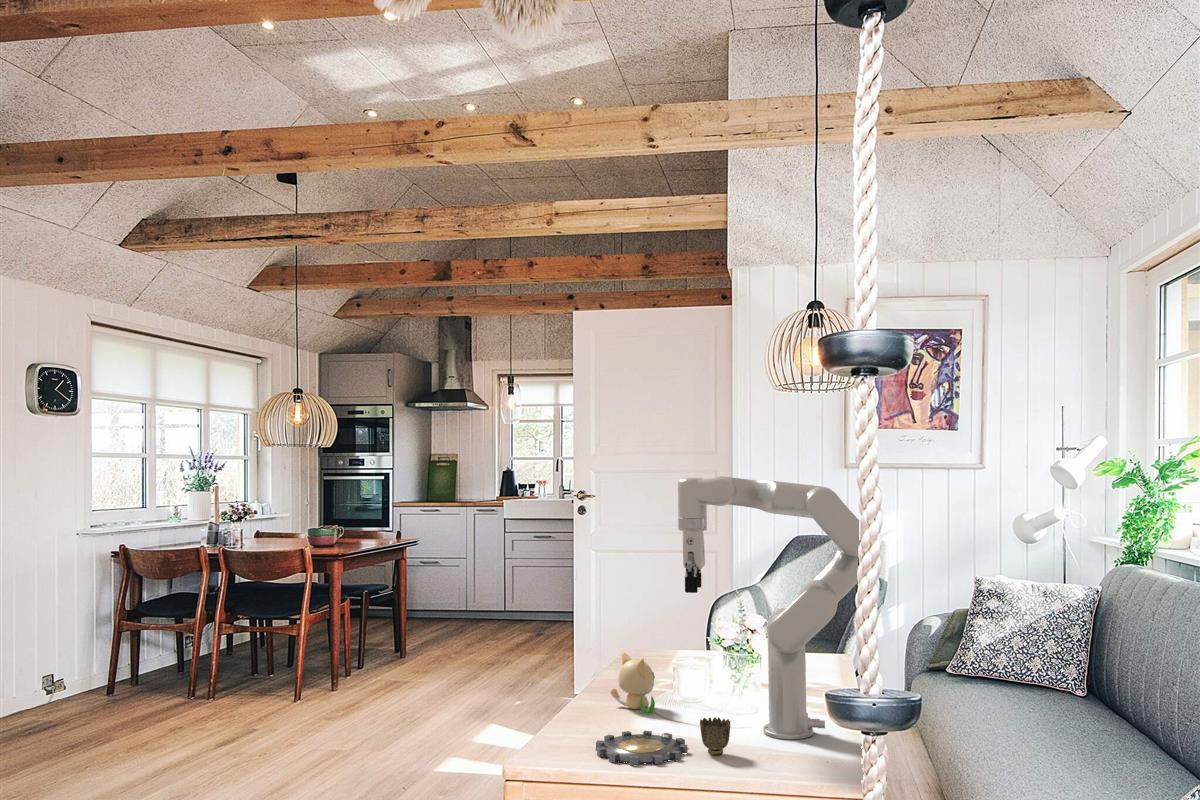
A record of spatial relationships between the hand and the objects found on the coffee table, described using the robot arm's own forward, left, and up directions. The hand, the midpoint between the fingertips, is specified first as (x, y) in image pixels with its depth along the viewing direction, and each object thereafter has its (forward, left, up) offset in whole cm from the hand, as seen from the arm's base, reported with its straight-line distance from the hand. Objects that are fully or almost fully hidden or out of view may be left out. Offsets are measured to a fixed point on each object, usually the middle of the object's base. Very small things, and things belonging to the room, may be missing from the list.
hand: (693, 589), depth 258 cm
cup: (-7, +20, -36) cm, 42 cm away
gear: (+11, +20, -36) cm, 43 cm away
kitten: (+18, -19, -36) cm, 45 cm away
